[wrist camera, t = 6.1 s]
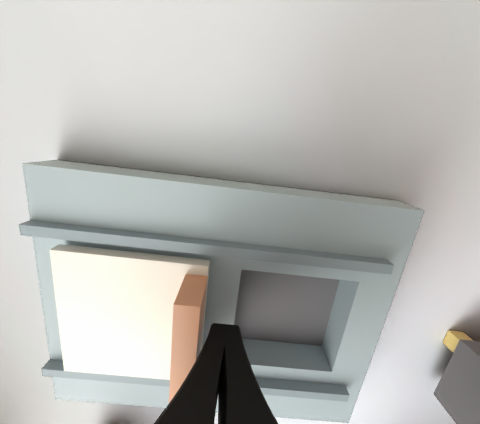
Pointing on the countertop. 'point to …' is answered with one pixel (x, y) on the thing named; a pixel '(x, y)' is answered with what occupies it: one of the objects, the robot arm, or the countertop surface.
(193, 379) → the robot arm
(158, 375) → the shutter
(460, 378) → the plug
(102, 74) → the countertop surface
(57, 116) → the countertop surface
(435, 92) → the countertop surface
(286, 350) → the socket board
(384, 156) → the countertop surface
